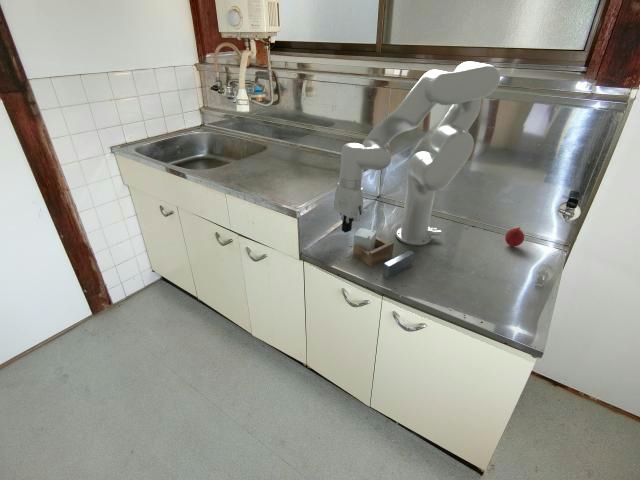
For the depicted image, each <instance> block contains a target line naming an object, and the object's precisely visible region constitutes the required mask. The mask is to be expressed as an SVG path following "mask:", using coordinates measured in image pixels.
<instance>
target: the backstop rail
mask: <svg viewBox="0 0 640 480" xmlns="http://www.w3.org/2000/svg"><path fill="white" fill-rule="evenodd" d="M414 259H415V252H413V251H412V250H410V249H409V250H407V251H405V252H404V253H402V254H400V255H398V256H396V257H394V258H392V259H390V260H388V261H386V262H384V264H383V273H382V277H383V278H384V279H386V280H387V281H388V280H389V279H392V278H394V277H395V276H397V275H399V274H401V273H403V272H404V271H407V270H408V269H409V268H411V267H413V266H414V265H413V264H414Z"/></svg>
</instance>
